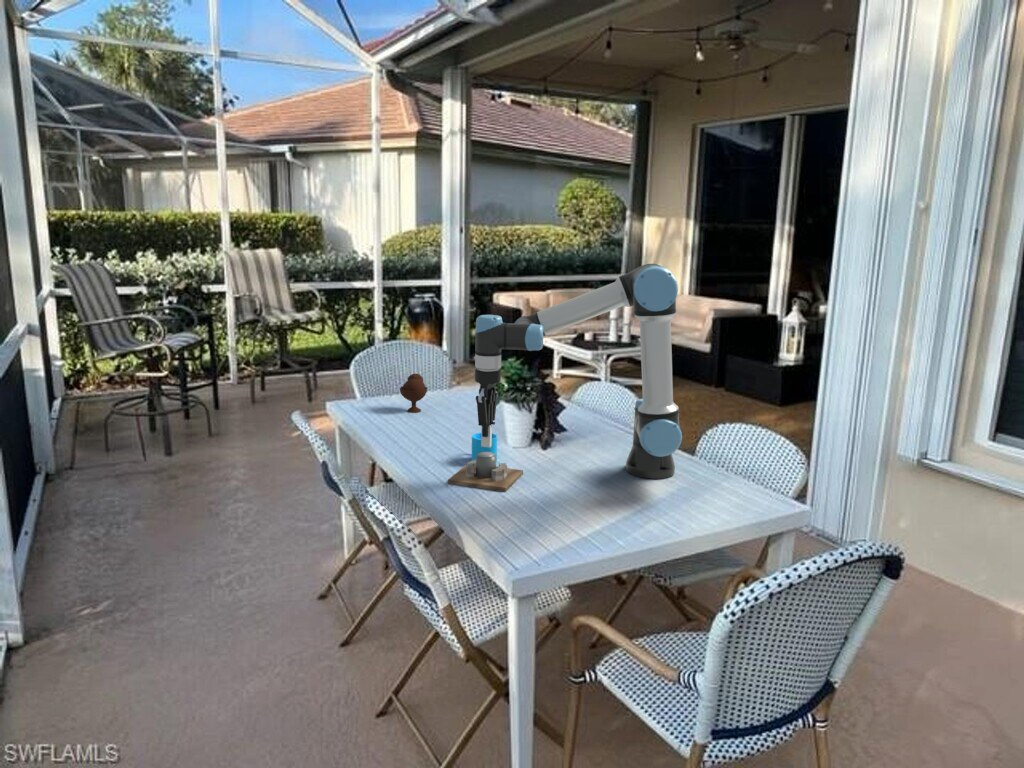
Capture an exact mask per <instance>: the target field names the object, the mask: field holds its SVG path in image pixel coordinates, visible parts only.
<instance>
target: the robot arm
mask: <svg viewBox="0 0 1024 768" xmlns="http://www.w3.org/2000/svg"><path fill="white" fill-rule="evenodd" d="M678 285H679V284H678V281H677V279H676V277H675V275H674V274H673V273H672V272H671V270H670V269H668V268H667V267H665V266H662V265H659V264H657V263H646V264H643V265H641V266H638V267H637V268H635V269H633V270H632V271H629V272H626V273H624V274H622V275H620V276H617V278H616V279H615V281H614V282H612V283H609V284H606V285H603V286H600V287H598V288H596V289H593V290H590V291H588V292H586V293H582V294H580V295H578V296H575V297H573V298H571V299H568V300H565V301H562V302H559V303H557V304H554V305H552V306H548V307H547V308H545V309H542V310H539V311H537V312H535V313H532V314H529V315H523V316H521V317H519V318H518V319H516V320H515V322H514V323H507V322H503V318H502V316H500V315H497V314H495V315H494V314H481V315H479V316H478V317H476V320H475V336H474V337H475V340H474V343H475V356H473V359H474V362H475V364H474V365H475V369H474V381H475V383H478V384H479V390H478V395H476V396H475V402H476V407H477V419H478V420H477V423H478V426H480V427H481V432H480V433H481V446H482V447H489V448H490V447H491V446H492V433H493V432H492V431H493V425H495V424H496V422H494V421H495V420H496V411H497V404H498V403H497V402H498V396H499V395H498V393H499V391H500V389H499V388H498V387H496V384H498V383H501V379H502V378H501V376H502V375H501V374H502V371H501V368H502V350H517V351H529V352H533V351H540V350H542V349H543V347H544V345H543V343H544V337H545V336H547V335H551V334H553V333H555V332H558V331H561V330H563V329H565V328H568V327H572V326H574V325H577V324H580V323H582V322H585V321H587V320H590V319H593V318H594V317H597V316H600V315H603V314H606V313H608V312H611V311H614V310H616V309H619V308H622V307H628V308H631V307H633V316H634V317H635V318H636V319H637V320H638V321H639V334H640V335H639V336H640V337H639V338H640V365H641V387H642V388H641V389H642V392H641V394H642V398H639V399H637V400H635V404H634V408H633V409H634V419H633V435H632V436H633V437H632V446H631V449H630V451H629V454H628V456H627V459H626V461H625V470H626V472H628V474H630V475H632V476H636V477H639V478H645V479H654V480H655V479H656V480H657V479H666V477H667V478H670V477H672V476H673V474H674V475H675V472H676V471H675V470H676V465H675V460H674V457H673V454H674V453H675V452H676V451H677V450H678V449H679V447H680V446H681V443H682V440H683V433H682V430H681V427H680V412H679V410H680V409H679V406H678V405H677V404H676V403H675V402H674V391H673V390H674V388H673V386H674V385H673V353H672V351H673V350H672V348H673V347H672V324H671V323H672V321H671V320H672V319H673V318H674V316H676V314H677V304H676V303H677V296H678V292H679V286H678Z"/></svg>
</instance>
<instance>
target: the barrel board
mask: <svg viewBox="0 0 1024 768" xmlns="http://www.w3.org/2000/svg"><path fill="white" fill-rule="evenodd" d="M523 475H524V470H523V469H516V468H509V467H508V465H507V463H505V462H503V463H502V462H499V463H498V466H496V469H493V470H492V477H491V478H480V477H477V476H476V460H473V461H472V460H470V461H468V462H467V463H466V464H465V465H464V466H463V467H462V468H460V469H459V470H457V472H456V473H454V474H453V475H452V476H451V477H449V478H448V479H447V484H450V485H457V486H463V487H470V488H477V489H485V490H490V491H498V492H503V493H504V492H505V493H507V491H509V490H510V488H511V487H513V485H514V484H515V483H516V482H517V481H518V480H519V479H520V478H521V477H522V476H523Z"/></svg>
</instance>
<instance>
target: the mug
mask: <svg viewBox="0 0 1024 768" xmlns="http://www.w3.org/2000/svg"><path fill="white" fill-rule="evenodd" d="M481 452H491V453H494V454H495V455H496V463H497V460H498V435H497V434H495V433H493V432H492V446H491V447H490V448H489V447H482V446H481V432H476V433H474V434H472V435H471V461H473V460H476V455H477V454H479V453H481Z"/></svg>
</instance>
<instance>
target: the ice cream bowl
mask: <svg viewBox="0 0 1024 768" xmlns="http://www.w3.org/2000/svg"><path fill="white" fill-rule="evenodd" d="M428 388H429V387H428V386H426V384H425V383H424V378H423V376H422V375H421V374H420V373H419V374H418V373H412V374H410V375H409V376H408V377H407V381H405V382H404V383H403V384H402V386H401V387H400V388H399V391H400V394H401V396H402V397H403V398H404V399H406V400H407V401H409V402H411V406H410V407H409V408H408V409H407V411H406V412H408V413H411V414H416V413H421V411H422V409H420V408H419V407H417V402H418V401H421V400H423V398H424V397H425V396H426V394H427V392H428Z"/></svg>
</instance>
